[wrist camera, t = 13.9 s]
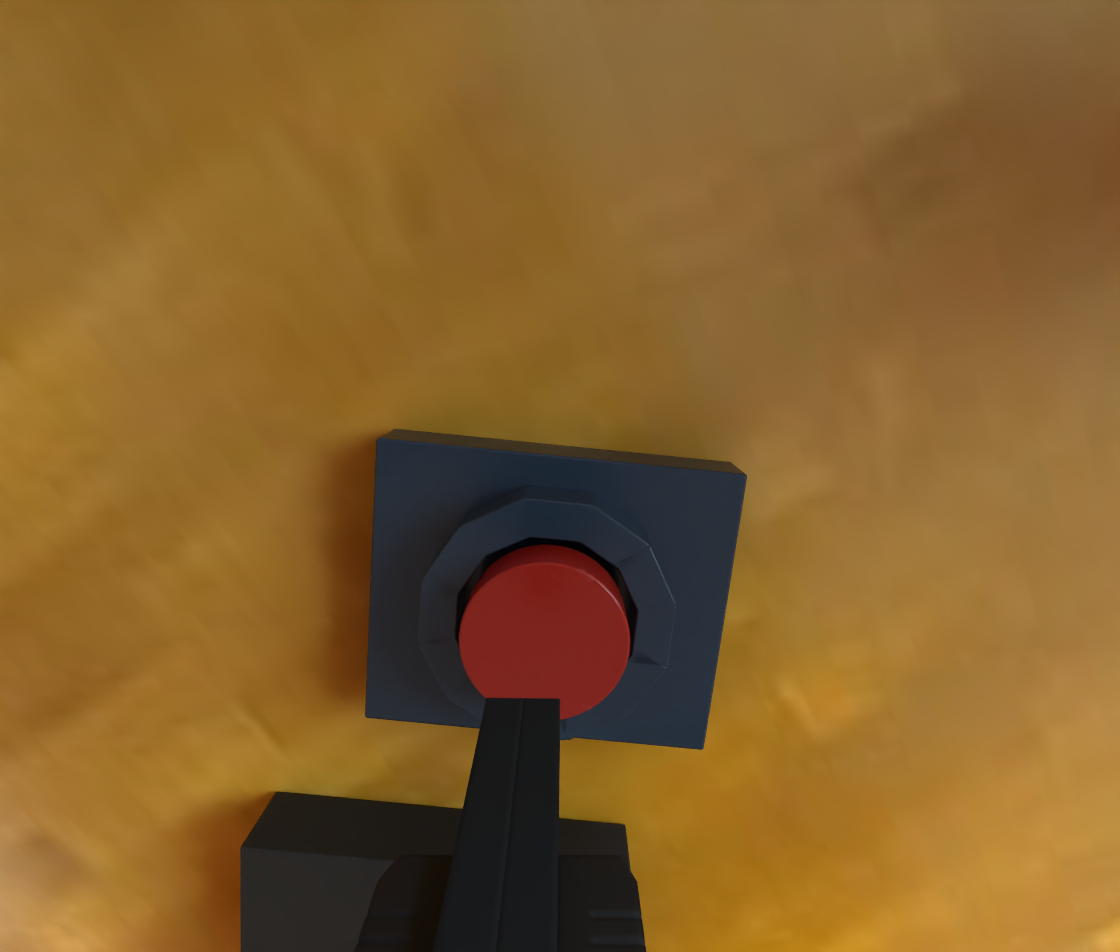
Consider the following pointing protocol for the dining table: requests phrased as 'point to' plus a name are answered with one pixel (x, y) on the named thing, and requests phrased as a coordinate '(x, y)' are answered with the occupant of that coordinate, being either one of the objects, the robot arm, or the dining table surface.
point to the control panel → (351, 864)
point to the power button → (545, 629)
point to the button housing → (552, 519)
